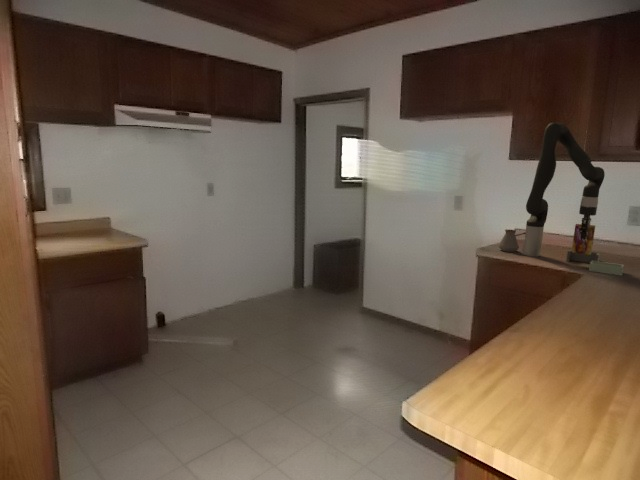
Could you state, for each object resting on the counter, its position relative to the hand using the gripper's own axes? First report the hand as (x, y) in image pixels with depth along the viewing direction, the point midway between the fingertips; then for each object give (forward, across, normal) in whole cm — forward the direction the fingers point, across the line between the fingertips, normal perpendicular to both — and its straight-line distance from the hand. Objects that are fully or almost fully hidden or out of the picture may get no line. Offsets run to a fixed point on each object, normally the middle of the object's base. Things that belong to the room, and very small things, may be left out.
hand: (583, 237), depth 225 cm
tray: (+15, +7, +12) cm, 21 cm away
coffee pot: (+16, -14, -34) cm, 40 cm away
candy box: (+8, 0, 0) cm, 8 cm away
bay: (+15, -8, 0) cm, 17 cm away
